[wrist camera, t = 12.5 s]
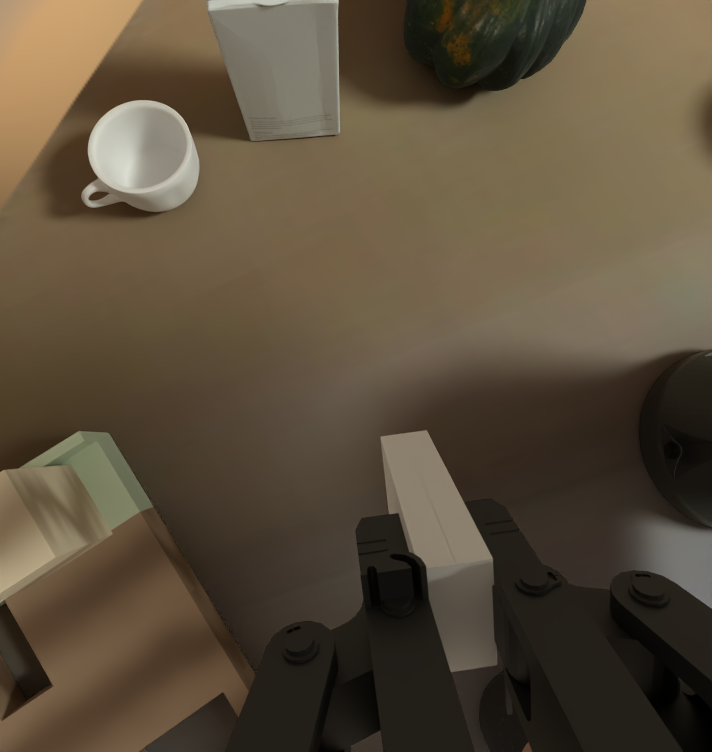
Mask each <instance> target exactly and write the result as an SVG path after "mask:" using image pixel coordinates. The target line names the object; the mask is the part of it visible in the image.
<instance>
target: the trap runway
mask: <svg viewBox="0 0 712 752" xmlns="http://www.w3.org/2000/svg"><path fill="white" fill-rule="evenodd" d="M111 531H112V533H113V534H112V535H111V536H109V537H108V538H106V539H105V540H103V541H102V542H100V543H99V544H97V545H96V546H94V547H92V548H91V549H89V550H88V551H86V552H85V553H83V554H82V555H80V556H79V557H77V558H76V559H74V560H73V561H71V562H70V563H68V564H66V565H65V566H63V567H62V568H60V569H59V570H57V571H56V572H54V573H53V574H51V575H50V576H48V577H47V578H45V579H43V580H42V581H40V582H39V583H37V584H34V585H32V586H30V587H28V588H26V589H24V590H22V591H20V592H17V593H15V594H13V595H11V596H9V597H8V598H6V599H5V602H6V604H7V606H8V607H9V609H10V611H11V613H12V614H13V616H14V618H15V620H16V621H17V623H18V625H19V627H20V628H21V630H22V632H23V634H24V635H25V637H26V639H27V641H28V642H29V644H30V646H31V648H32V649H33V651H34V653H35V655H36V656H37V658H38V660H39V662H40V664H41V665H42V667H43V669H44V671H45V672H46V674H47V676H48V678H49V679H50V681H51V683H52V684H50V685H49V686H47V687H46V688H44V689H43V690H41V691H40V692H38V693H37V694H35V695H34V696H32V697H31V698H29V699H28V700H26V698H25V696H24V695H23V693H22V691H21V689H20V688H19V686H18V684H17V682H16V680H15V679H14V677H13V675H12V673H11V672H10V670H9V668H8V666H7V664H6V663H5V661H4V659H3V657H2V656H1V654H0V752H147V750H146V749H145V747H146V746H147V745H148V744H150V743H151V742H153V741H154V740H156V739H157V738H158V737H160V736H161V735H163V734H164V733H165V732H167V731H168V730H170V729H171V728H173V727H174V726H175V725H177V724H178V723H180V722H181V721H182V720H184V719H185V718H187V717H188V716H190V715H191V714H192V713H194V712H195V711H197V710H198V709H200V708H201V707H202V706H204V705H205V704H207V703H208V702H209V701H211V700H212V699H214V698H215V697H217V696H218V695H219V694H221V693H222V692H223V693H224V694H225V696H226V698H227V699H228V701H229V703H230V704H231V706H232V708H233V709H234V711H235V713H236V714H237V716H238V718H239V715H240V713H241V710H242V708H243V705H244V703H245V700H246V698H247V695H248V693H249V690H250V688H251V685H252V683H253V680H254V678H255V675H256V674H255V673H254V671H253V670H252V668H251V666H250V665H249V663H248V661H247V660H246V658H245V656H244V655H243V653H242V651H241V650H240V648H239V646H238V645H237V643H236V642H235V640H234V638H233V637H232V635H231V633H230V632H229V630H228V628H227V627H226V625H225V623H224V622H223V620H222V618H221V617H220V615H219V614H218V612H217V610H216V609H215V607H214V605H213V604H212V602H211V600H210V599H209V597H208V595H207V594H206V592H205V590H204V589H203V587H202V586H201V584H200V582H199V581H198V579H197V577H196V576H195V574H194V572H193V571H192V569H191V567H190V566H189V564H188V562H187V561H186V559H185V558H184V556H183V554H182V553H181V551H180V549H179V548H178V546H177V544H176V543H175V541H174V539H173V538H172V536H171V535H170V533H169V531H168V530H167V528H166V526H165V525H164V523H163V521H162V520H161V518H160V516H159V515H158V513H157V511H156V510H155V508H154V507H152V508H149V509H146V510H143V511H141V512H139V513H137V514H136V515H134V516H133V517H131V518H130V519H128V520H126V521H125V522H123V523H122V524H120V525H119V526H117V527H116V528H114V529H113V530H111Z"/></svg>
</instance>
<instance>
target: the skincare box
mask: <svg viewBox="0 0 712 752" xmlns="http://www.w3.org/2000/svg"><path fill="white" fill-rule="evenodd" d="M206 1H207V12H208V15H209V18H210V21H211V24H212V27H213V30H214V33H215V36H216V38H217V41H218V44H219V47H220V50H221V53H222V56H223V59H224V62H225V65H226V68H227V71H228V74H229V77H230V80H231V83H232V86H233V89H234V92H235V95H236V98H237V101H238V104H239V107H240V110H241V113H242V116H243V119H244V122H245V125H246V128H247V131H248V134H249V136H250V139H251V141H262V140H275V139H288V138H302V137H314V136H323V135H338V134H339V133H340V109H339V51H338V3H339V0H206Z"/></svg>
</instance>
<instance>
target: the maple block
mask: <svg viewBox="0 0 712 752" xmlns="http://www.w3.org/2000/svg"><path fill="white" fill-rule="evenodd" d="M112 534H113V533H112V531H111V530H110V528H109V526H108V525H107V523H106V521H105V520H104V518H103V516H102V515H101V513H100V511H99V510H98V508H97V506H96V505H95V503H94V501H93V500H92V498H91V496H90V495H89V493H88V491H87V490H86V488H85V486H84V485H83V483H82V481H81V480H80V478H79V476H78V475H77V473H76V471H75V470H74V468H73V466H72V465H61V466H48V467H34V468H21V469H8V470H3V471H1V472H0V600H2V599H5V598H7V597H9V596H11V595H13V594H15V593H17V592H20V591H22V590H24V589H26V588H28V587H30V586H32V585H34V584H37V583H39V582H40V581H42V580H43V579H45V578H47V577H48V576H50V575H51V574H53V573H54V572H56V571H57V570H59V569H60V568H62V567H63V566H65V565H66V564H68V563H70V562H71V561H73V560H74V559H76V558H77V557H79V556H80V555H82V554H83V553H85V552H86V551H88V550H89V549H91V548H92V547H94V546H96V545H97V544H99V543H100V542H102V541H103V540H105V539H106V538H108V537H109V536H111V535H112Z"/></svg>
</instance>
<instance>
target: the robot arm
mask: <svg viewBox="0 0 712 752" xmlns="http://www.w3.org/2000/svg"><path fill="white" fill-rule="evenodd" d="M380 438H381V447H382V456H383V465H384V474H385V483H386V492H387V502H388V511H389V514H388V515H381V516H374V517H367V518H362V519H361V521H360V522H359V524H358V526H357V528H356V530H355V531H356V539H357V547H358V555H359V563H360V571H361V582H362V589H363V604H362V607H361V609H360V610H359V612H358V613H357V615H356V616H355V617H353V618H352V619H351V620H350V621H349V622H347V623H345V624H343V625H342V626H340V627H337V628H335V629H333V630H330V629H328V628H327V627H325V626H324V625H322V624H321V623H317V622H312V621H304V622H296V623H294V624H291V625H289V626H286V627H284V628H283V629H281V630H280V631H279V632H278V633H277V634H275V635H274V636H273V638H272V639H271V641H270V642H269V644H268V645H267V648H266V650H265V653H264V655H263V658H262V660H261V663H260V665H259V668H258V670H257V673H256V675H255V678H254V680H253V683H252V685H251V688H250V690H249V693H248V695H247V698H246V700H245V703H244V705H243V708H242V710H241V713H240V715H239V718H238V720H237V723H236V725H235V728H234V730H233V733H232V735H231V738H230V740H229V743H228V745H227V748H226V750H225V752H351V745H353V744H355V743H357V742H359V741H360V740H362V739H364V738H366V737H368V736H370V735H372V734H374V733H376V732H378V731H379V730H381V736H382V743H383V751H384V752H475V751H474V748H473V745H472V741H471V738H470V735H469V731H468V728H467V725H466V721H465V718H464V715H463V711H462V708H461V705H460V701H459V698H458V695H457V691H456V688H455V685H454V681H453V678H452V675H451V672H456V671H463V670H469V669H476V668H482V667H489V666H495V665H497V648H498V650H499V652H500V655H501V657H502V660H503V662H504V674H505V701H506V710H507V715H511V714H513V712H512V702H513V705H514V707H515V710H516V712H517V715H518V717H519V720H520V722H521V725H522V727H523V730H524V732H525V735H526V737H527V740H528V742H529V745H530V747H531V750H532V752H712V609H711V608H710V607H708V606H707V605H705V604H704V603H703V602H701V601H700V600H698V599H697V598H696V597H694V596H693V595H691V594H690V593H689V592H687V591H686V590H684V589H683V588H682V587H680V586H679V585H677V584H676V583H674V582H673V581H671V580H669V579H667V578H665V577H663V576H661V575H658V574H654V573H651V572H648V571H635V570H633V571H628V572H622V573H620V574H619V575H617V576H616V577H614V578H613V580H612V583H611V585H610V590H604V589H593V588H584V587H578V586H574V585H570V584H569V583H568V582H567V580H566V579H565V578H564V577H563V576H562V575H561V574H560V573H559V572H558V571H556V570H554V569H552V568H550V567H548V566H545V565H542V563H541V562H540V560H539V559H538V557H537V556H536V554H535V553H534V551H533V550H532V548H531V546H530V545H529V543H528V542H527V540H526V539H525V537H524V536H523V534H522V533H521V532H520V531H519V528H518V526H517V525H516V523H515V522H513V519H512V517H511V516H510V514H509V513H508V511H507V510H506V508H505V507H504V506H502V505H500V504H499V503H497V502H496V501H494V500H493V499H484V500H477V501H470V502H463V500H462V498H461V496H460V494H459V492H458V490H457V488H456V486H455V484H454V482H453V480H452V478H451V476H450V475H449V473H448V471H447V469H446V467H445V465H444V463H443V461H442V459H441V457H440V455H439V453H438V451H437V449H436V447H435V446H434V444H433V442H432V440H431V438H430V436H429V434H428V432H427V430H425V431H418V432H410V433H403V434H396V435H388V436H381V437H380ZM640 443H641V450H642V454H643V458H644V462H645V464H646V467H647V470H648V472H649V474H650V476H651V478H652V480H653V482H654V483H655V485H656V486H657V488H658V489H659V491H660V492H661V493H662V495H663V496H664V497H665V498H666V499H667V500H668V501H669V502H670V503H671V504H672V505H673V506H674V507H675V508H676V509H677V510H679V511H680V512H681V513H683V514H684V515H686V516H687V517H689V518H691V519H692V520H694V521H696V522H698V523H701V524H703V525H706V526H709V527H712V350H708V351H704V352H700V353H696V354H693V355H690V356H688V357H685V358H683V359H681V360H679V361H678V362H676V363H675V364H673V365H672V366H670V367H669V368H668V369H667V370H666V371H665V372H664V373H663V374H662V375H661V376H660V377H659V378H658V379H657V381H656V382H655V383H654V385H653V386H652V388H651V390H650V392H649V394H648V396H647V398H646V400H645V403H644V406H643V410H642V414H641V420H640Z"/></svg>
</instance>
